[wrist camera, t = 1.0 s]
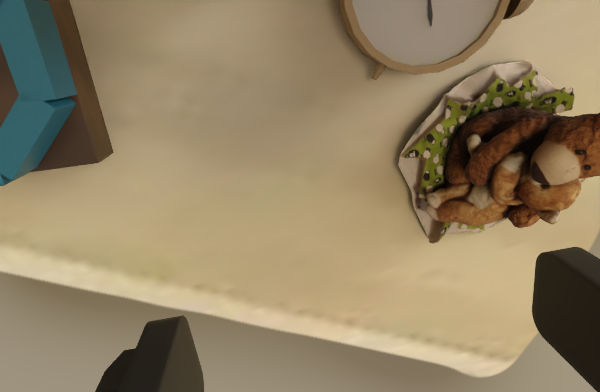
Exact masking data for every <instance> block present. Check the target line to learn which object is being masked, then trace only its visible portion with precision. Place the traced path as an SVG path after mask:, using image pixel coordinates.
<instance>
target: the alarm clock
mask: <svg viewBox="0 0 600 392" xmlns="http://www.w3.org/2000/svg"><path fill="white" fill-rule="evenodd" d="M533 1H534V0H339V11H340V14H341V17H342V19H343V22H344V25H345V28H346V31H347V34H348V35H349V36H350V38H351V39H352V40H353V42H354V43H355V44H356V46H357V47H358V48H359V50H360V51H361V52H362V53H363V54H364V55H366V56H367V57H369V58H370V59H372V60H373V61H375V62H376V63H378V64H377V66H376V68H375V69H374V72H373V75H372V79H374V80H377V79H378V77H379V76H380V75H381V74H382V72H383V70H384V68H385V67H388V68H390V69H395V70H399V71H403V72H407V73H411V74H423V73H434V72H440V71H443V70H445V69H447V68H450V67H452V66H455V65H457V64H459V63H462V62H464V61H465V60H466V59H467V58H469V57H470V56H471V55H472V54H474V53H475V52H476V51H477V50H478V49H480V48H481V47H482V46H483V45H485V44H486V42H487V41H488V39H489V38H490V37H491V35H492V34H493V32H494V31H495V30H496V28H497V27H498V26H499V24H500V23H501V21H502V20H503V19H509V18H512V17H514V16H517V15H519V14H521V13H523V12H524V11H525V10H526V9H527V8H528V7H529V6H530V5H531V4H532V3H533Z"/></svg>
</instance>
